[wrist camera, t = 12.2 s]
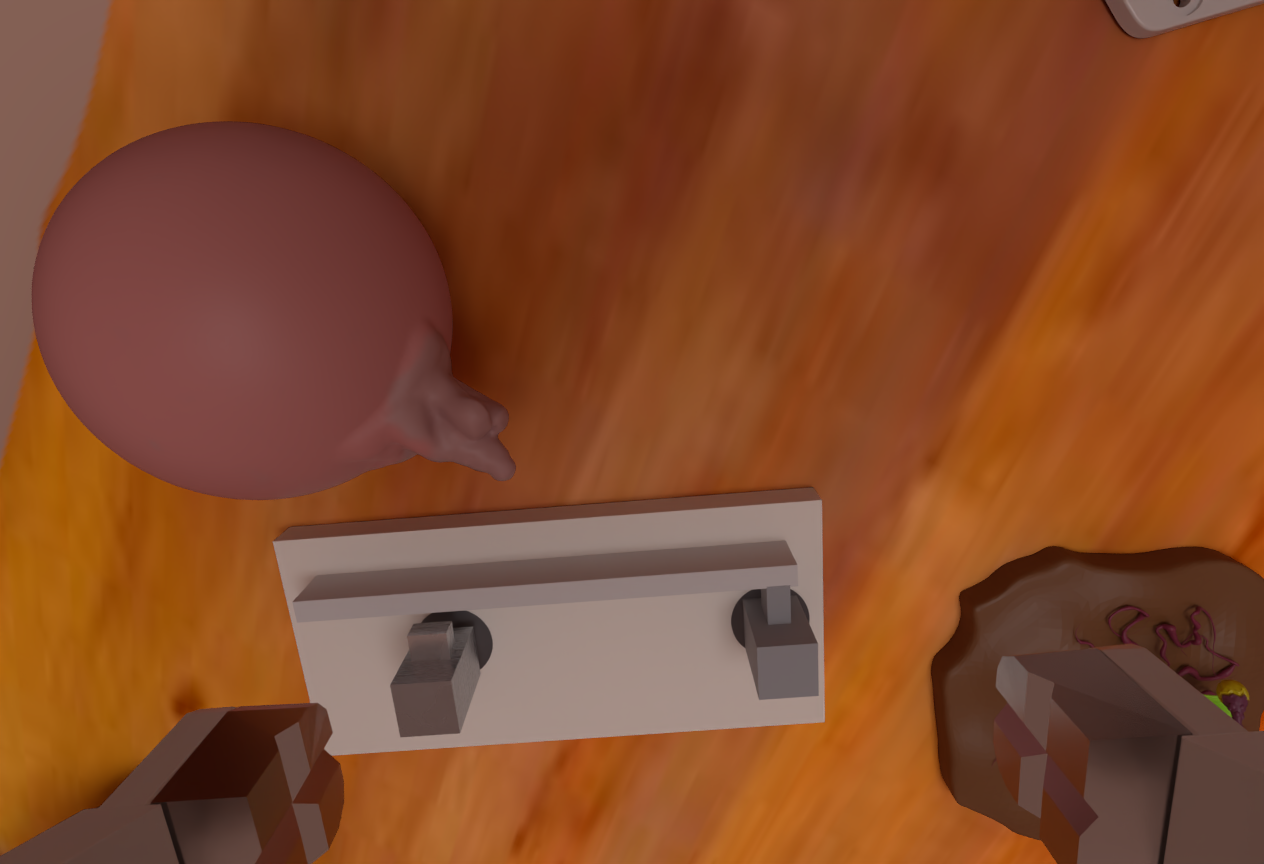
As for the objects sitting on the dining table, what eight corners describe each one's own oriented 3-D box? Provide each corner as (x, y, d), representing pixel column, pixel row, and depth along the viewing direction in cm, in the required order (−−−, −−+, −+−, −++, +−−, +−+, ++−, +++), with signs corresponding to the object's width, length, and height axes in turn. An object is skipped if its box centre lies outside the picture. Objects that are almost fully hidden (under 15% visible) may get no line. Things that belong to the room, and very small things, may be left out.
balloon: (464, 534, 42) (370, 701, 27) (142, 339, 39) (-161, 407, 24) (612, 311, 38) (599, 363, 24) (272, 79, 35) (11, -29, 21)
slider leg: (470, 598, 40) (446, 653, 35) (481, 669, 41) (459, 733, 36) (417, 602, 40) (384, 658, 35) (429, 673, 41) (400, 737, 36)
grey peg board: (813, 487, 41) (848, 538, 34) (816, 700, 45) (848, 784, 38) (289, 527, 42) (222, 584, 35) (336, 733, 45) (284, 821, 39)
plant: (907, 817, 47) (988, 989, 37) (945, 541, 42) (1052, 647, 31) (1213, 820, 47) (1384, 993, 37) (1288, 544, 42) (1513, 652, 31)
